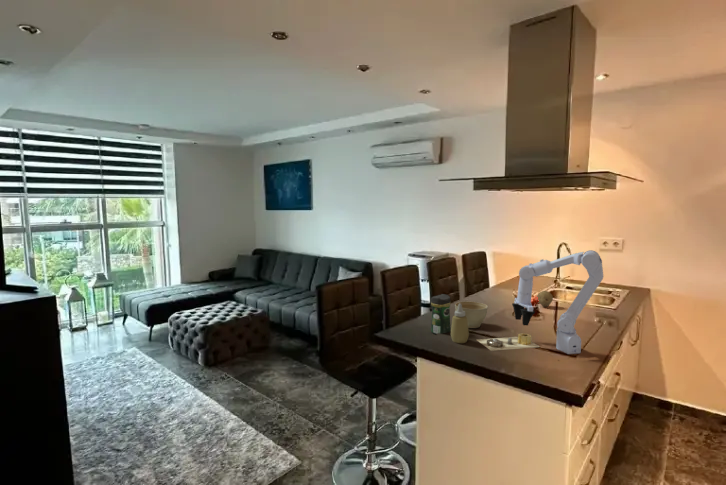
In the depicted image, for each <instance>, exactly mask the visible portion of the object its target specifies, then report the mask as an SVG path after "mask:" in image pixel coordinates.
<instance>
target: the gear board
mask: <svg viewBox="0 0 726 485" xmlns="http://www.w3.org/2000/svg"><path fill="white" fill-rule="evenodd" d="M490 339H498V340H500V341H503V347H500V348H498V347H491V346H488V345H487V340H490ZM476 341H477V342H479V343H480V344H481V345H483V346H484V347H486V349H488V350H489V351H491V352H493V351H504V350H506V351H507V350H517V349H532V348H541V346H539V344H537V343H535V342H533V341H531V344H529V345H522V344H519V343H518V336H511V337H510V336H509V337H494V338H482V339H481V338H479V339H476Z"/></svg>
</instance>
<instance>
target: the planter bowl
mask: <svg viewBox="0 0 726 485" xmlns="http://www.w3.org/2000/svg"><path fill="white" fill-rule="evenodd" d="M459 304H462V309H463V311H464V312H465V316H466V317H467V320H468V329H478V328H480V327H481V325H482V323H483V322H484V320H485V319H486V316H487V311H488V309H489V308H488V305H487V304H485V303H482V302H478V301H458V302H456V303H455V304H454V307H455V311H457V309H458V305H459Z"/></svg>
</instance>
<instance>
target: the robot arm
mask: <svg viewBox="0 0 726 485" xmlns="http://www.w3.org/2000/svg"><path fill="white" fill-rule="evenodd" d="M572 264H573V265H577V266H581V265H582V266H583V267H584V269H585V270H586V272H587V274H588V278H587V279H586V281H585V283H584V284H583V285H582V287H581V288H580V291H579V292H578V293H577V295H576V297H575V298H574V300H573V301H572V302H571V304H570V306H568V308H567V310H566V311H565V312H563V313H562V314H561V315H560V316H559V319H558V320H557V322H556V326H557V328H556V341H555V342H556V344H555V347H556V349H557V350H558V351H561V352H563V353H565V354H567V355H573V354H574V355H575V354H581V353H582V352H581V350H582V338H581V337H580V335H578V333H577V329H575V325H576V323H577V319H578V318H579V316H580V314H581V313H582V311H583V309H584V307H586V305H587V303H588V302H589V300H590V299H591V298H592V296H593V295H594V293H595V292H596V290H597V288H598V287H599V286H600V284H601V282H602V281H603V279H604V270H603V269H604V268H603V260H602V258H601V256H600V254H599V253H598V252H597V251H596V250H586V251H582V252H581V251H579V252H576V253H573V254H570V255H569V254H568V255H566V256H563V257H560V258H556V259H554V260H552V261H550V260H548V259H544V258H543V259H540V260H539V261H537V262H535V263H528V265H524V266H523V267H521V268H520V269H519V271H518V275H519V281H518V286H517V287H518V289H517V296H516V297H515V298H514V301H513V302H512V304H511V305H512V308H513V311H514V318H515V320H518V321H519V320H520V321H521V320H522V325H523V326H529V324H530V321H531V319H532V317H533V316H534V314H536V310H534V306H533V305H532V297H533V296H532V295H533V286H534V282H533V281H534V277H539V276H544V275H547V274H550V273H552V272H553V270H554V269H556V268H560V267H563V266H568V265H572Z"/></svg>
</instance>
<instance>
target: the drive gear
mask: <svg viewBox="0 0 726 485" xmlns="http://www.w3.org/2000/svg"><path fill="white" fill-rule="evenodd" d="M489 339H490V340H487V345H488V346H491V347H498V348H500V347H503V341H500V340H498V339H492V338H489Z"/></svg>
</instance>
